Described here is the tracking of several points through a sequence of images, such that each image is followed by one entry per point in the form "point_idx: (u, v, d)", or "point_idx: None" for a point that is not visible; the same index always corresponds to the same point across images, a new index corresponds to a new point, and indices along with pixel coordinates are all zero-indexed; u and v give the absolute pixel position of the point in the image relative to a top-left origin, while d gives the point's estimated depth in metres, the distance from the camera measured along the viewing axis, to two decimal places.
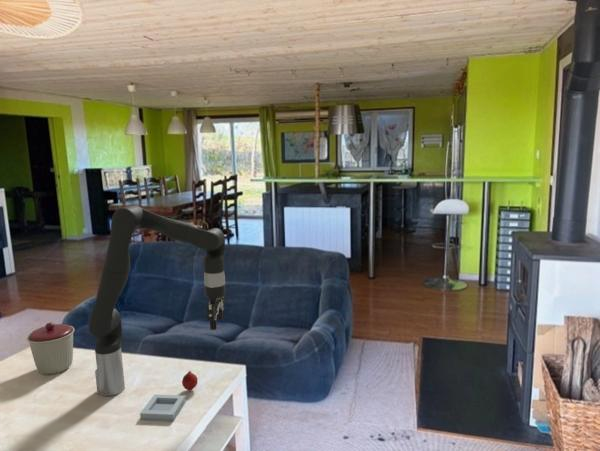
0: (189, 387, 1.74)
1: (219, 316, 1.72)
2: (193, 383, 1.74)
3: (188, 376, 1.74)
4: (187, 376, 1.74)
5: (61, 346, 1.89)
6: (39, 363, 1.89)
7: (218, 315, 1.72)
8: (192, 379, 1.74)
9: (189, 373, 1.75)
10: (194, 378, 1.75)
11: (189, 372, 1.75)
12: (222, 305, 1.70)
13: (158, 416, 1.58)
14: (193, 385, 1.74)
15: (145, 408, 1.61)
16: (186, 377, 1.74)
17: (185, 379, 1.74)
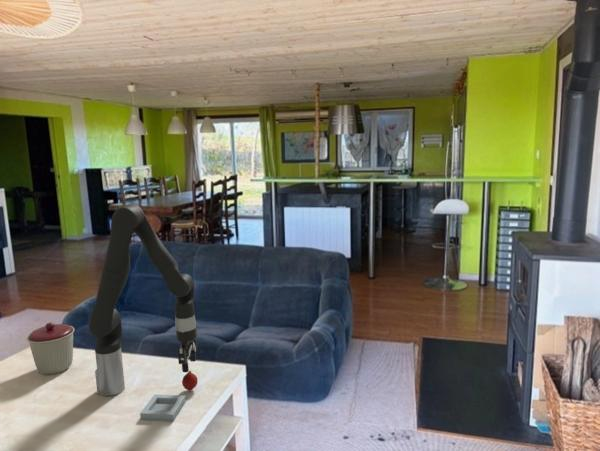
0: (189, 387, 1.74)
1: (192, 357, 1.79)
2: (193, 383, 1.74)
3: (188, 376, 1.74)
4: (187, 376, 1.74)
5: (61, 346, 1.89)
6: (39, 363, 1.89)
7: (191, 356, 1.79)
8: (192, 379, 1.74)
9: (189, 373, 1.75)
10: (194, 378, 1.75)
11: (189, 372, 1.75)
12: (194, 347, 1.76)
13: (158, 416, 1.58)
14: (193, 385, 1.74)
15: (145, 408, 1.61)
16: (186, 377, 1.74)
17: (185, 379, 1.74)
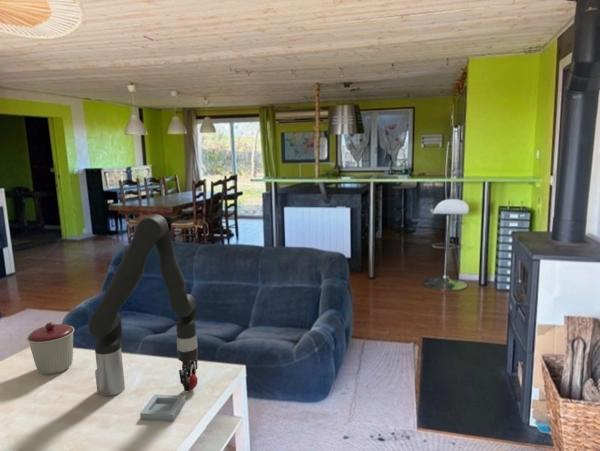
0: None
1: None
2: (193, 383, 1.74)
3: None
4: (187, 376, 1.74)
5: (61, 346, 1.89)
6: (39, 363, 1.89)
7: None
8: (192, 379, 1.74)
9: None
10: (194, 378, 1.75)
11: None
12: (195, 367, 1.77)
13: (158, 416, 1.58)
14: (193, 385, 1.74)
15: (145, 408, 1.61)
16: None
17: None
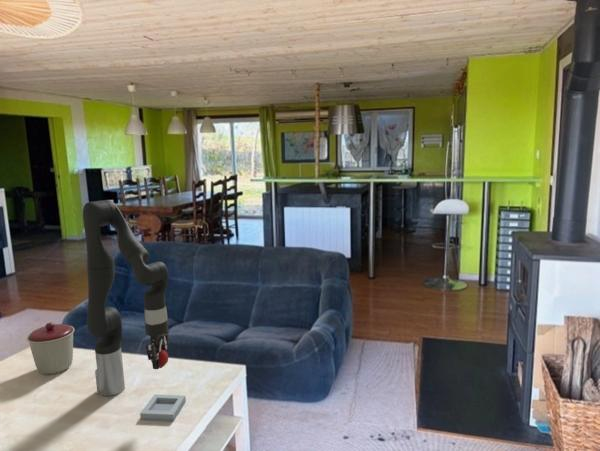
0: None
1: None
2: (163, 360, 1.58)
3: None
4: None
5: (61, 346, 1.89)
6: (39, 363, 1.89)
7: None
8: (161, 355, 1.58)
9: None
10: (164, 355, 1.59)
11: None
12: (165, 343, 1.61)
13: (158, 416, 1.58)
14: (163, 362, 1.58)
15: (145, 408, 1.61)
16: None
17: None
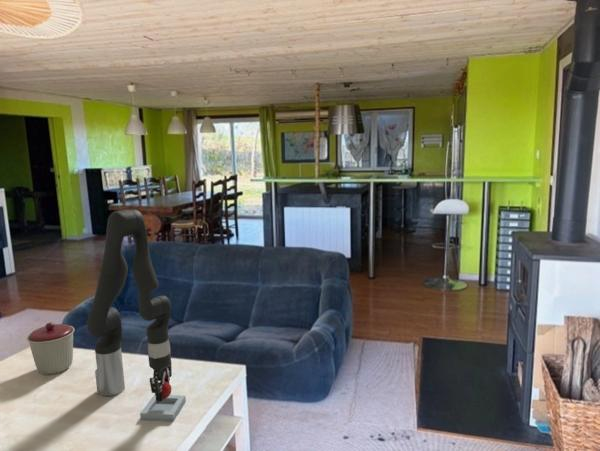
0: None
1: None
2: (166, 392, 1.60)
3: None
4: None
5: (61, 346, 1.89)
6: (39, 363, 1.89)
7: None
8: (165, 388, 1.60)
9: None
10: (167, 387, 1.61)
11: None
12: (168, 374, 1.64)
13: (158, 416, 1.58)
14: (166, 394, 1.60)
15: (145, 408, 1.61)
16: None
17: None
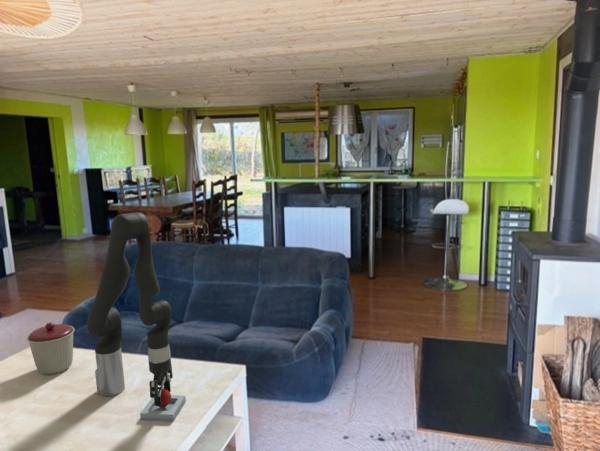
0: (162, 404, 1.61)
1: (166, 388, 1.66)
2: (166, 400, 1.61)
3: None
4: None
5: (61, 346, 1.89)
6: (39, 363, 1.89)
7: (165, 387, 1.66)
8: (164, 395, 1.61)
9: None
10: (167, 395, 1.62)
11: None
12: (169, 378, 1.64)
13: (158, 416, 1.58)
14: (166, 402, 1.61)
15: (145, 408, 1.61)
16: None
17: None
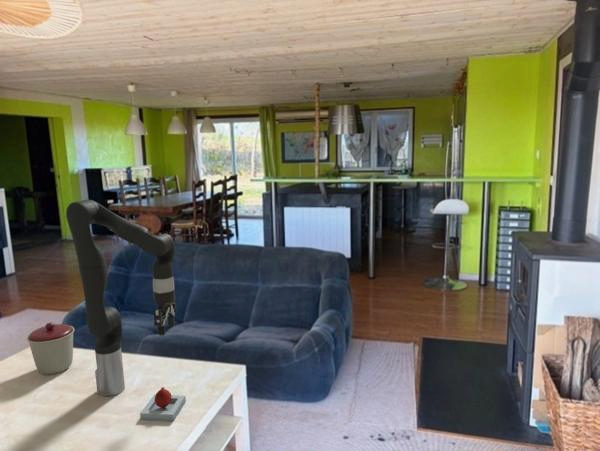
0: (162, 405, 1.61)
1: (170, 321, 1.72)
2: (166, 400, 1.61)
3: (160, 393, 1.61)
4: (160, 393, 1.61)
5: (61, 346, 1.89)
6: (39, 363, 1.89)
7: (169, 320, 1.72)
8: (165, 396, 1.61)
9: (162, 389, 1.62)
10: (167, 395, 1.62)
11: (162, 388, 1.62)
12: (172, 310, 1.70)
13: (158, 416, 1.58)
14: (166, 403, 1.61)
15: (145, 408, 1.61)
16: (159, 394, 1.61)
17: (158, 396, 1.61)
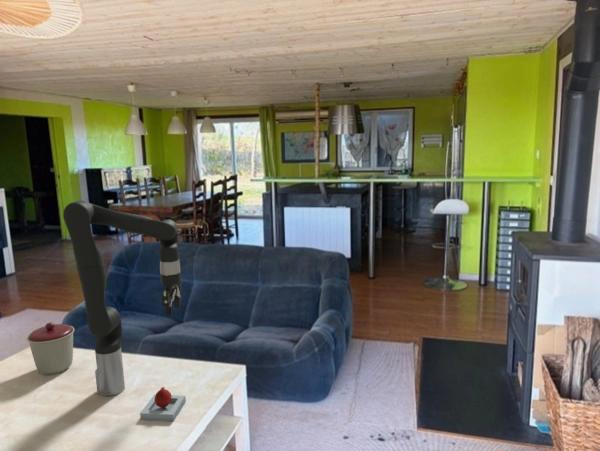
0: (162, 405, 1.61)
1: (176, 303, 1.82)
2: (166, 400, 1.61)
3: (160, 393, 1.61)
4: (160, 393, 1.61)
5: (61, 346, 1.89)
6: (39, 363, 1.89)
7: (175, 302, 1.82)
8: (165, 396, 1.61)
9: (162, 389, 1.62)
10: (167, 395, 1.62)
11: (162, 388, 1.62)
12: (178, 292, 1.79)
13: (158, 416, 1.58)
14: (166, 402, 1.61)
15: (145, 408, 1.61)
16: (159, 394, 1.61)
17: (158, 396, 1.61)
